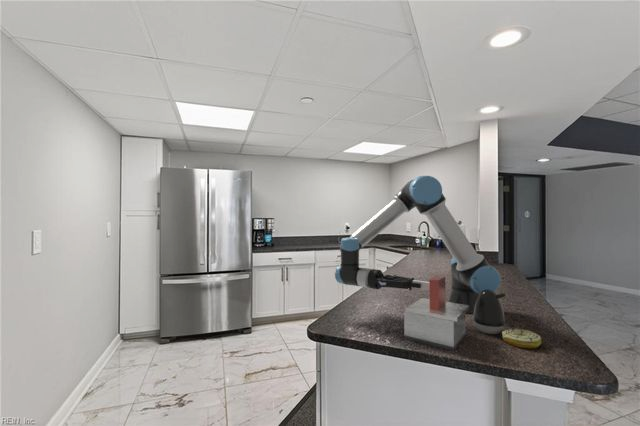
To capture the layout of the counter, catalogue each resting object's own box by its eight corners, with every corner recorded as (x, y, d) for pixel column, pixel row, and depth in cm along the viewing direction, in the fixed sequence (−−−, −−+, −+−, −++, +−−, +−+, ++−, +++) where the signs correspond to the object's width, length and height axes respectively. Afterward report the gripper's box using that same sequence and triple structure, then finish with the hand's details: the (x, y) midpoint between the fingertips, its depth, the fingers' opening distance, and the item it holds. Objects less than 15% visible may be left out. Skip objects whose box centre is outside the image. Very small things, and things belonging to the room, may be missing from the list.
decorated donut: (507, 334, 109) (507, 324, 109) (544, 343, 101) (544, 332, 101) (498, 343, 101) (498, 331, 102) (537, 353, 94) (537, 341, 94)
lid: (405, 311, 105) (405, 278, 105) (422, 301, 118) (422, 271, 118) (457, 321, 95) (456, 285, 95) (469, 308, 108) (468, 276, 108)
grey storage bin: (404, 338, 106) (404, 311, 106) (420, 324, 118) (420, 301, 118) (453, 350, 96) (453, 321, 96) (465, 334, 108) (465, 309, 109)
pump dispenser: (505, 339, 104) (505, 294, 104) (471, 333, 110) (471, 290, 110) (506, 330, 113) (505, 288, 113) (474, 324, 118) (474, 285, 118)
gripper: (378, 285, 127) (436, 293, 113) (362, 291, 117) (424, 301, 103) (378, 266, 128) (436, 273, 113) (362, 271, 117) (424, 278, 103)
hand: (431, 286), depth 108 cm, fingers closed
